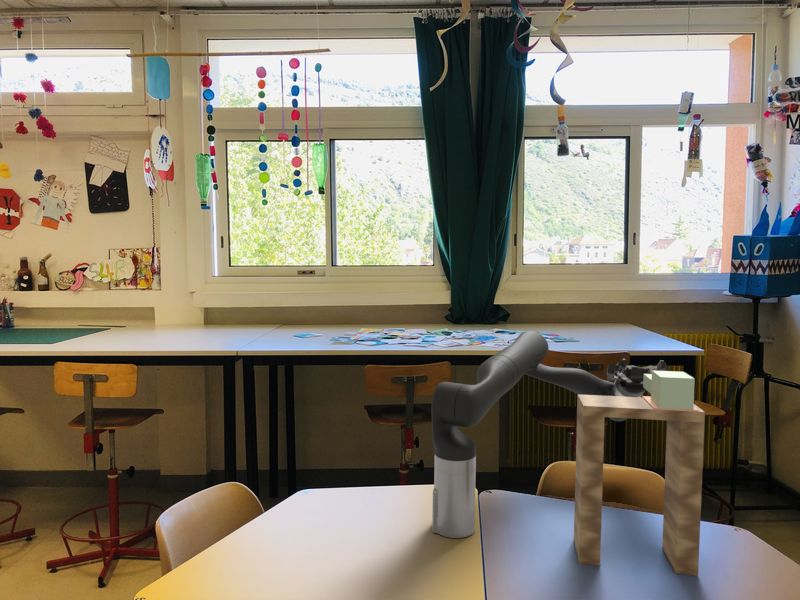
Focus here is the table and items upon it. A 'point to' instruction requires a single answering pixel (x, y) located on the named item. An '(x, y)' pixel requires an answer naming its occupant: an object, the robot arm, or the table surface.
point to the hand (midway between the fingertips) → (643, 363)
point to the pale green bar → (670, 389)
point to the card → (654, 406)
